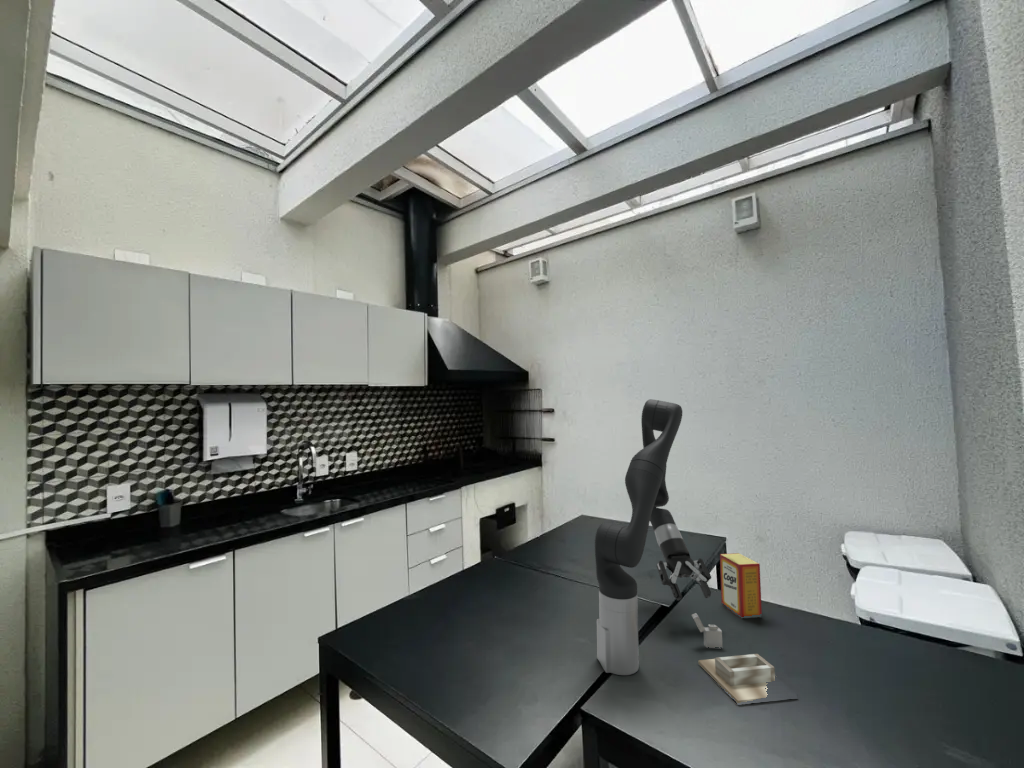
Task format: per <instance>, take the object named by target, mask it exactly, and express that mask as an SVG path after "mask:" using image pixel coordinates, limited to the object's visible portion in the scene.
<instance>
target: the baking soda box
mask: <svg viewBox="0 0 1024 768" xmlns="http://www.w3.org/2000/svg"><path fill="white" fill-rule="evenodd" d="M719 565H720V566H719V568H720V569H719V571H720V572H719V573H720V594H721V595H720V596H721V597H720V598H721V604H722V603H723V604H724V605H726V606H727V607H729V608H730V609H731V610H733V611H734V612H735V613H737V614H738V615H740V616H741V617H744V616H752V615H760V614H762V613H763V612H762V611H763V610H762V591H761V590H762V587H761V564H760V563H759V562H757V561H754V560H753V559H752V558H750V557H747V556H744V554H741V553H739V552H737V553H734V552H733V553H720V554H719ZM724 605H723V606H724ZM762 615H763V614H762Z"/></svg>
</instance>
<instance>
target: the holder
mask: <svg viewBox="0 0 1024 768" xmlns="http://www.w3.org/2000/svg"><path fill="white" fill-rule="evenodd" d="M697 661H698V662H697V664H699V665H700V666H701V667H702V668H703V669H704V670H705V671H706V672H707V673H708V674H709V675H710V676H711V677H712V678H713V679H714V680H715V681H716V682H717V683H718V684H719V685H720V686H721V687H722V688H723V689H725V691H726V692H728V694H730V695H731V697H732V698H734V699H735V701H736V702H737V703H741V702H747V701H753V700H756V699H761V698H766V697H767V695H768V694H767V692H766V691H767V689H768V688H767V686H766V685H767V684H768V683H766V682H772V681H775V676H776V672H775V671H776V670H775V669H776V668H775V666H774V665H772V664H771V663H770V662H769V661H767V660H766V659H765V658H764V657H762V656H761V655H760V654H759V653H750V654H742V655H732V656H731V655H730V656H718V657H715V658H710V659H709V658H708V659H699V660H697ZM699 665H698V666H699ZM700 666H699V667H700ZM701 667H700V668H701ZM702 668H701V669H702ZM703 669H702V670H703ZM704 670H703V671H704ZM705 671H704V672H705ZM706 672H705V673H706ZM707 673H706V674H707ZM708 674H707V675H708ZM709 675H708V676H709ZM710 676H709V677H710ZM711 677H710V678H711ZM712 678H711V679H712ZM713 679H712V680H713ZM714 680H713V681H714ZM715 681H714V682H715ZM716 682H715V683H716ZM717 683H716V684H717ZM718 684H717V685H718ZM719 685H718V686H719ZM720 686H719V687H720ZM721 687H720V688H721ZM765 688H766V689H765Z"/></svg>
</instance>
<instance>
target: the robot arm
mask: <svg viewBox="0 0 1024 768" xmlns="http://www.w3.org/2000/svg"><path fill="white" fill-rule="evenodd" d="M640 419H641V420H640V421H641V435H642V447H643V448H642V449H640V450H638V452H637V453H635V454H634V455H633V457H632V459H631V460H630V463H629V465H628V468H627V471H626V473H625V477H624V483H625V488H626V491H627V495H628V498H629V501H630V503H631V504H630V505H631V510H632V512H631V516H630V517H631V518H630V522H629V525H628V526H627V525H621V524H617V523H613V522H602V523H600V525H599V526H598V528H597V530H596V533H595V536H594V556H595V573H596V580H597V584H598V612H599V613H598V614H599V615H598V616H599V618H597V619H596V658H597V660H598V662H599V663H600V666H601V667H602V669H603V671H604V672H605V673H607V674H609V673H611V674H614V675H619V676H630V675H634V674H635V673H636V672H638V671H639V669H640V668H639V667H640V654H639V652H640V651H639V613H638V611H639V609H638V608H639V607H638V583H637V581H636V579H635V578H634V577H633V576H632V575H630V574H629V573H628V572H627V571H625V570H624V569H623V568H622V567H625V568H631V569H633V568H636V567H637V566H638V565H639V563H640V562H641V559H642V557H643V553H644V550H645V547H646V542H647V535H648V532H649V526H650V524H651V526H652V529H653V531H654V535H655V539H656V542H657V545H658V547H659V550H660V551H661V555H662V558H663V560H664V561H663V560H659V561H658V563H657V564H656V568H657V572H658V575H659V578H660V581H661V584H662V585H663V586H668V587H670V590H671V592H672V595H673V597H674V598H675V599H676V601H681V600H682V599H683V595H682V593H681V590H680V588H679V585H678V583H676V582H677V579H678V578H679V579H680V578H690V579H692V580H694V581H695V582H697V583H698V584H699V588H700V589H701V592H702V594H703V597H704V598H705V599H709V598H710V597H711V594H712V590H711V588H710V587H709V584H708V582H709V581H710V580H711V579H712V575H711V573H710V571H709V570H708V568H707V566H706V564H705V562H704V560H703V559H702V558H698V559H697V560H693V559H692V557H691V555H690V552H689V549H688V547H687V545H686V542H685V539H684V538H683V536H682V533H681V532H680V529H679V528H678V526H677V524H676V522H675V519H674V517H673V515H672V513H671V511H670V510H668V509H666V508H662V507H665V506H667V504H668V503H669V499H670V496H669V492H668V488H667V484H666V473H667V463H668V460H669V455H670V452H671V448H672V446H673V444H674V441H675V439H676V436H677V434H678V431H679V429H680V426H681V422H682V419H683V408H682V406H681V405H680V404H677V403H674V402H671V401H670V402H669V401H664V400H657V399H648V400H646V401H645V403H644V405H643V407H642V412H641V418H640ZM654 431H657V432H661V434H660V435H659V436H658V437H657V438H656V437H655V434H654ZM660 507H661V508H660ZM667 570H668V571H670V572H671V573H670V576H668V573H667Z"/></svg>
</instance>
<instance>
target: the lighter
mask: <svg viewBox="0 0 1024 768" xmlns="http://www.w3.org/2000/svg"><path fill="white" fill-rule="evenodd" d="M691 617H692V619H693V621H694V623H695V625H696V626H697V628H698V631H699V632H700V633H703V645H704V647H705V648H707V649H716V648H715V647H719V648H718V649H721V648H720V647H722V648H723V631H722V629H721V628H720V627H718V625H716V624H708V625H707V627H706V626H704V624H703V622H702V621H701V618H700V617H699V615H698V614H697V613H696V612H695V613H692V614H691ZM708 647H709V648H708Z"/></svg>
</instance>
